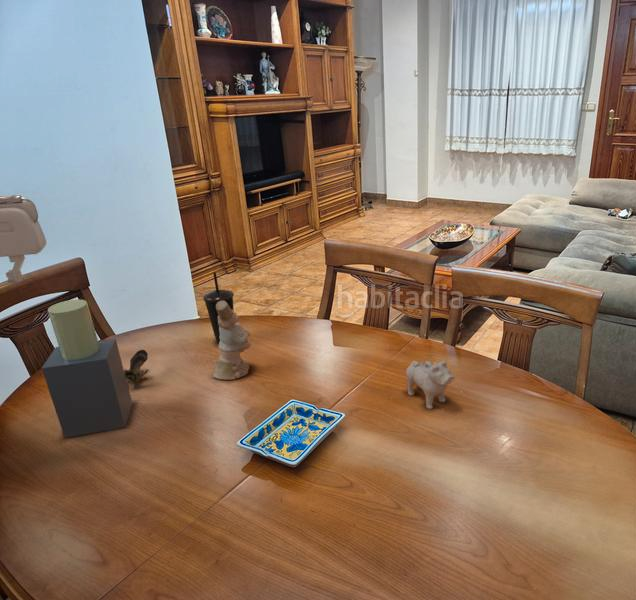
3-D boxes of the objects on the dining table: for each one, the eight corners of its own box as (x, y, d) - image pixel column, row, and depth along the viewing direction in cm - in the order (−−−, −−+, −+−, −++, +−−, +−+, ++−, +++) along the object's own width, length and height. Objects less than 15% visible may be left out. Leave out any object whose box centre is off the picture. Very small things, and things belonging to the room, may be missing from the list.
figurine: (231, 385, 118) (218, 306, 111) (207, 376, 122) (193, 299, 115) (260, 369, 125) (249, 293, 118) (236, 360, 129) (224, 287, 122)
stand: (64, 438, 102) (41, 368, 95) (76, 413, 110) (55, 346, 103) (125, 427, 104) (106, 358, 98) (132, 403, 112) (115, 338, 106)
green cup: (53, 302, 99) (67, 347, 103) (43, 314, 93) (58, 362, 97) (90, 297, 101) (102, 342, 105) (82, 309, 95) (95, 357, 99)
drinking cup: (210, 350, 135) (197, 279, 127) (212, 337, 142) (200, 269, 134) (240, 346, 137) (229, 275, 129) (240, 333, 144) (230, 266, 136)
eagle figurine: (161, 378, 120) (156, 356, 126) (137, 362, 115) (134, 340, 122) (134, 399, 119) (131, 376, 126) (110, 384, 114) (107, 361, 121)
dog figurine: (441, 418, 105) (442, 373, 101) (402, 391, 115) (401, 349, 110) (459, 408, 108) (461, 364, 104) (420, 383, 118) (420, 342, 113)
